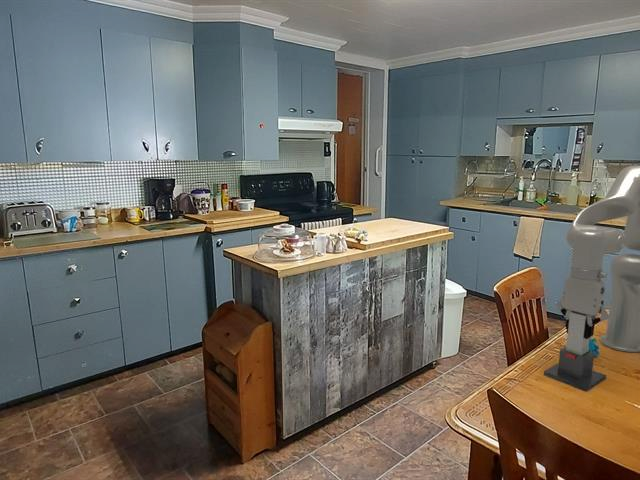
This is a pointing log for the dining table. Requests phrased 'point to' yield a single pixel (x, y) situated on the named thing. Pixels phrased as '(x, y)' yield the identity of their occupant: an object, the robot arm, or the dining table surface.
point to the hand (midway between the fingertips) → (578, 334)
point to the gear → (594, 346)
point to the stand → (575, 370)
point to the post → (577, 334)
